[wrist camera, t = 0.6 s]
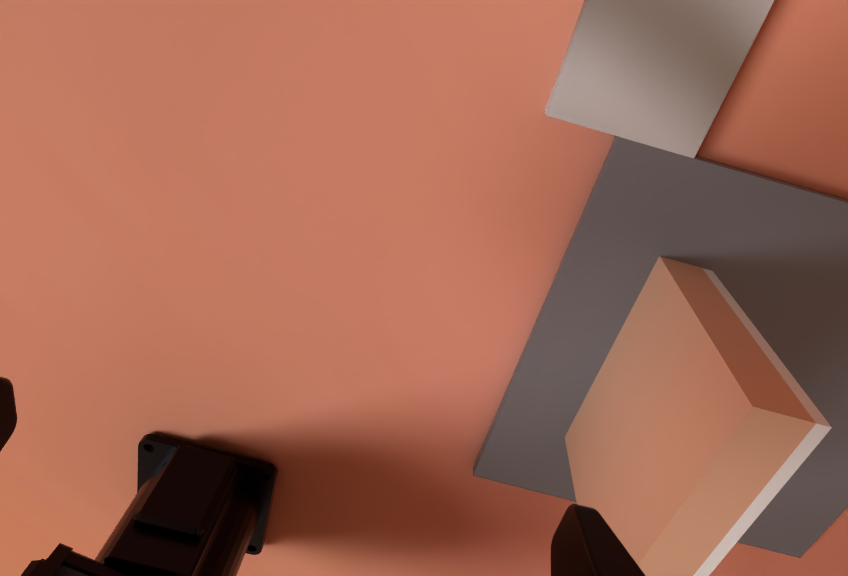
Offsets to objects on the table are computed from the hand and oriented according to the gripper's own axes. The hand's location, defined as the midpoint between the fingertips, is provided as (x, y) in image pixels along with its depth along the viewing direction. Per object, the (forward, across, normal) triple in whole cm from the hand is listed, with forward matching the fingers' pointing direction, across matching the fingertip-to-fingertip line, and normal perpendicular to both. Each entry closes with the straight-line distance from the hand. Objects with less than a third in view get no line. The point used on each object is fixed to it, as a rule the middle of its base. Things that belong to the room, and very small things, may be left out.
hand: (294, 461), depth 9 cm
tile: (+12, -11, +4) cm, 17 cm away
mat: (+13, -15, +4) cm, 20 cm away
